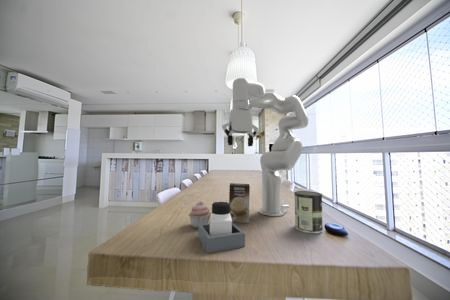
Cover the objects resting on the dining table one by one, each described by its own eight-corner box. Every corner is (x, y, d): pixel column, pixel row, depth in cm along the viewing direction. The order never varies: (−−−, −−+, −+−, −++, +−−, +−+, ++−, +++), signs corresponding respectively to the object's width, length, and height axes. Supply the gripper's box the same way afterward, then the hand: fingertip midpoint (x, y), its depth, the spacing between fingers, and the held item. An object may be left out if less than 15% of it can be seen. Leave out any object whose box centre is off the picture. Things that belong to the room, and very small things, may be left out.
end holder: (229, 232, 68) (230, 220, 68) (244, 246, 56) (245, 233, 57) (198, 236, 63) (198, 224, 64) (207, 253, 52) (208, 238, 52)
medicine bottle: (232, 243, 57) (232, 204, 58) (209, 243, 57) (210, 204, 57) (230, 234, 64) (230, 200, 65) (210, 234, 64) (210, 199, 64)
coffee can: (318, 225, 76) (317, 191, 77) (326, 235, 66) (326, 196, 67) (292, 223, 78) (292, 190, 79) (297, 232, 68) (296, 194, 69)
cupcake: (189, 231, 68) (189, 204, 69) (187, 222, 77) (188, 199, 78) (213, 229, 70) (214, 203, 71) (209, 221, 79) (209, 198, 80)
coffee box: (228, 222, 78) (228, 184, 79) (229, 217, 85) (229, 183, 86) (249, 223, 78) (249, 185, 78) (249, 218, 84) (249, 183, 85)
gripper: (253, 111, 88) (253, 146, 87) (219, 107, 81) (219, 145, 80) (262, 107, 81) (262, 145, 80) (226, 102, 74) (225, 144, 73)
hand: (240, 145), depth 80 cm, fingers open, 9 cm apart
